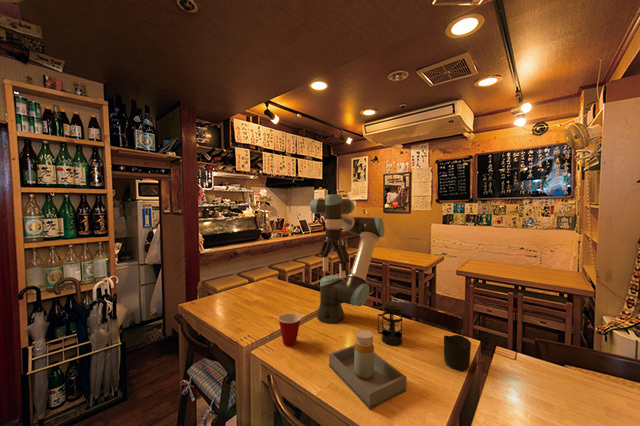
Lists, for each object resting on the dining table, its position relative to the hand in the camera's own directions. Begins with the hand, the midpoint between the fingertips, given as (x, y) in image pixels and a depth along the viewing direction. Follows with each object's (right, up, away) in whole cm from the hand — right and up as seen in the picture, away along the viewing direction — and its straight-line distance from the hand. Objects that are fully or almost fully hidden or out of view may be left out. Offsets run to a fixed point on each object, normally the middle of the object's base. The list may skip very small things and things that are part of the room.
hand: (333, 274), depth 116 cm
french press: (+27, -32, +1) cm, 41 cm away
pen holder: (+48, -32, -16) cm, 60 cm away
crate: (+10, -32, -24) cm, 41 cm away
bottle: (+10, -31, -23) cm, 40 cm away
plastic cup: (-20, -31, -1) cm, 37 cm away
